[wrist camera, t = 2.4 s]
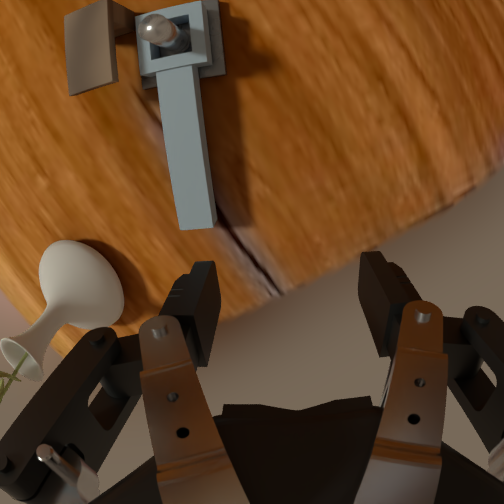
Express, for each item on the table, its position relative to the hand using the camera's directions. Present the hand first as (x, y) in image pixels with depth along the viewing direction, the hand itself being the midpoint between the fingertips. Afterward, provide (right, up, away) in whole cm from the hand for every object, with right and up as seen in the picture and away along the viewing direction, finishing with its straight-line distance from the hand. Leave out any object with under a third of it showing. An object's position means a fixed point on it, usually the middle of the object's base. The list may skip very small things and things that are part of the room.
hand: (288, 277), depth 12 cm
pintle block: (-7, +18, +9) cm, 21 cm away
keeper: (-13, +18, +9) cm, 25 cm away
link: (-7, +12, +11) cm, 17 cm away
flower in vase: (-21, -2, +20) cm, 29 cm away
